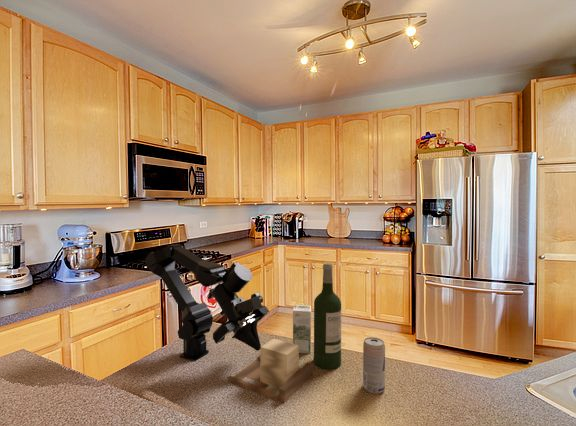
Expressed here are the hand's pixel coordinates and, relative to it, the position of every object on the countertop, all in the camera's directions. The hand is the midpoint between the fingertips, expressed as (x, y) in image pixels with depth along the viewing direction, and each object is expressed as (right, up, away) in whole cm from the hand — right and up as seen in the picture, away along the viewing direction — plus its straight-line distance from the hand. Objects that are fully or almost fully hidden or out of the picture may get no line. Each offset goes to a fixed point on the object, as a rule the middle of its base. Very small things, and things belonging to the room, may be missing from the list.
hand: (259, 349), depth 81 cm
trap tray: (+3, -8, -2) cm, 9 cm away
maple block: (+6, -7, -3) cm, 9 cm away
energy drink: (+30, -8, -4) cm, 31 cm away
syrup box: (+12, -8, +15) cm, 21 cm away
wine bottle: (+19, -8, +6) cm, 22 cm away
